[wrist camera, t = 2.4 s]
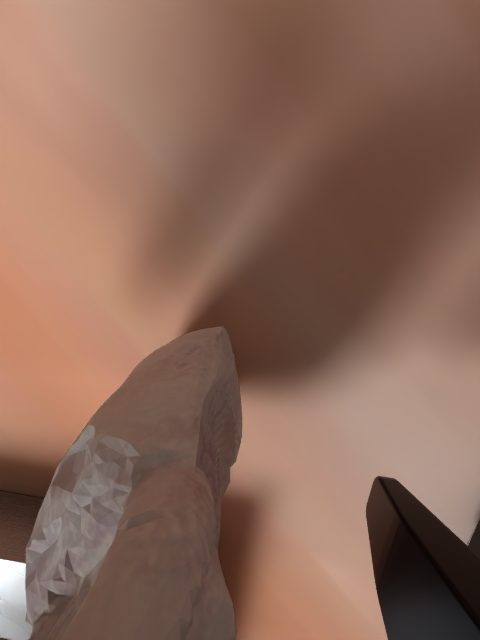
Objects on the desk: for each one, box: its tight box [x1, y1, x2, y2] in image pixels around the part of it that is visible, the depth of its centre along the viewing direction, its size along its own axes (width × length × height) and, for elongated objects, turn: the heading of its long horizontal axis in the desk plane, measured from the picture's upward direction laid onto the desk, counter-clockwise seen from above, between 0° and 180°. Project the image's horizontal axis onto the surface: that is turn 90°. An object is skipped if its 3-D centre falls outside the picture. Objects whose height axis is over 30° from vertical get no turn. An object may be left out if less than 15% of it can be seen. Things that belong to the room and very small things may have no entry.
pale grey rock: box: [25, 326, 242, 640], centre depth 7 cm, size 6×4×10 cm, turn 174°
